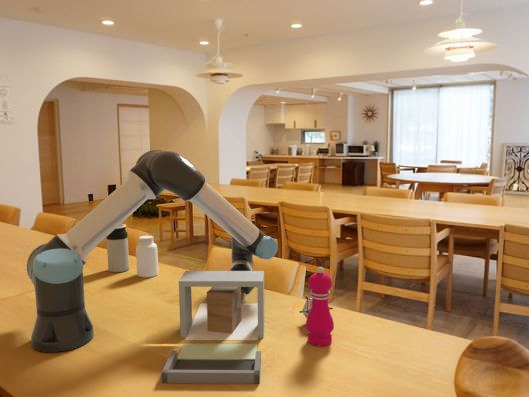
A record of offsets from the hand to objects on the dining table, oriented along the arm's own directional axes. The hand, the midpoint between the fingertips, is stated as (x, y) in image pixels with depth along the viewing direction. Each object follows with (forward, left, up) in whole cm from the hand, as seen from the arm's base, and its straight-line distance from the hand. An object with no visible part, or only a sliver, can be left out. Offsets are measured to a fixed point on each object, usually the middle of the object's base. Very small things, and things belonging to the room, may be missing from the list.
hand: (234, 298), depth 134 cm
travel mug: (0, +72, -7) cm, 72 cm away
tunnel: (-2, +1, -7) cm, 7 cm away
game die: (+16, -17, -7) cm, 24 cm away
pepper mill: (+8, -25, -7) cm, 27 cm away
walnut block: (-5, -2, -6) cm, 8 cm away
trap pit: (-22, -19, -7) cm, 29 cm away
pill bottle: (+5, +58, -7) cm, 58 cm away
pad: (-14, -11, -7) cm, 19 cm away
